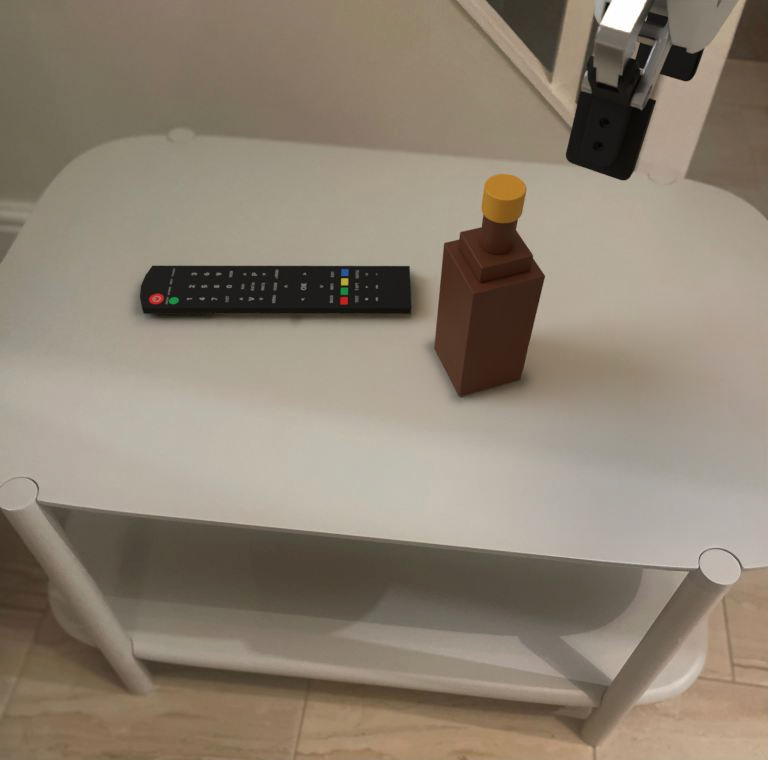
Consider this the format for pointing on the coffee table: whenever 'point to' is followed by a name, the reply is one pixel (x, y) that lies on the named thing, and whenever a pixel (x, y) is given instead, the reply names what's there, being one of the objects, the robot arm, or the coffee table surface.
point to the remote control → (276, 290)
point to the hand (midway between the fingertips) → (632, 117)
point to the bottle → (488, 294)
